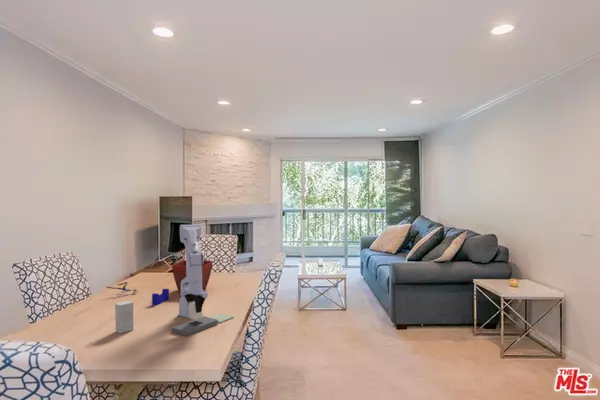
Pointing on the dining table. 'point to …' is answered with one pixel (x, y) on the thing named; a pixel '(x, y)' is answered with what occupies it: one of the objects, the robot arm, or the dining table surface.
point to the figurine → (124, 289)
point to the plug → (194, 311)
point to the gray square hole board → (190, 326)
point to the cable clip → (160, 297)
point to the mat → (221, 317)
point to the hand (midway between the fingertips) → (195, 311)
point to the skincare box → (124, 316)
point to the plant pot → (180, 273)
